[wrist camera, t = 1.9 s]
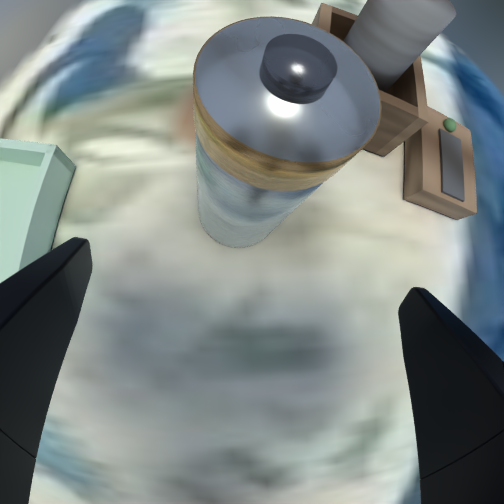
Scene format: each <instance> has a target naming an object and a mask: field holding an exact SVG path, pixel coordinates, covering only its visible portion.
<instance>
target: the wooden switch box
mask: <svg viewBox="0 0 504 504" xmlns="http://www.w3.org/2000/svg"><path fill="white" fill-rule="evenodd" d="M427 110H428V121H429V122H428V123H427V124H426V125H424V126H423V127H422V128H421V129H419V130H418V131H417V132H415V133H414V134H413V135H412V136H410V137H409V138H408V139H406V140H405V182H404V199H405V200H407V201H410V202H413V203H415V204H418V205H421V206H423V207H426V208H428V209H431V210H434V211H436V212H439V213H441V214H444V215H446V216H449V217H451V218H453V219H456V220H459V219H462V218H465V217H468V216H471V215H474V214H477V207H476V183H475V169H474V158H473V149H472V140H471V133H470V130H469V129H467V128H466V127H464V126H462V125H461V124H459V123H457V122H455V121H454V120H453V119H451V118H448V117H447V116H445V115H443V114H441V113H439V112H438V111H436V110H434V109H432V108H430V107H428V106H427Z"/></svg>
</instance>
